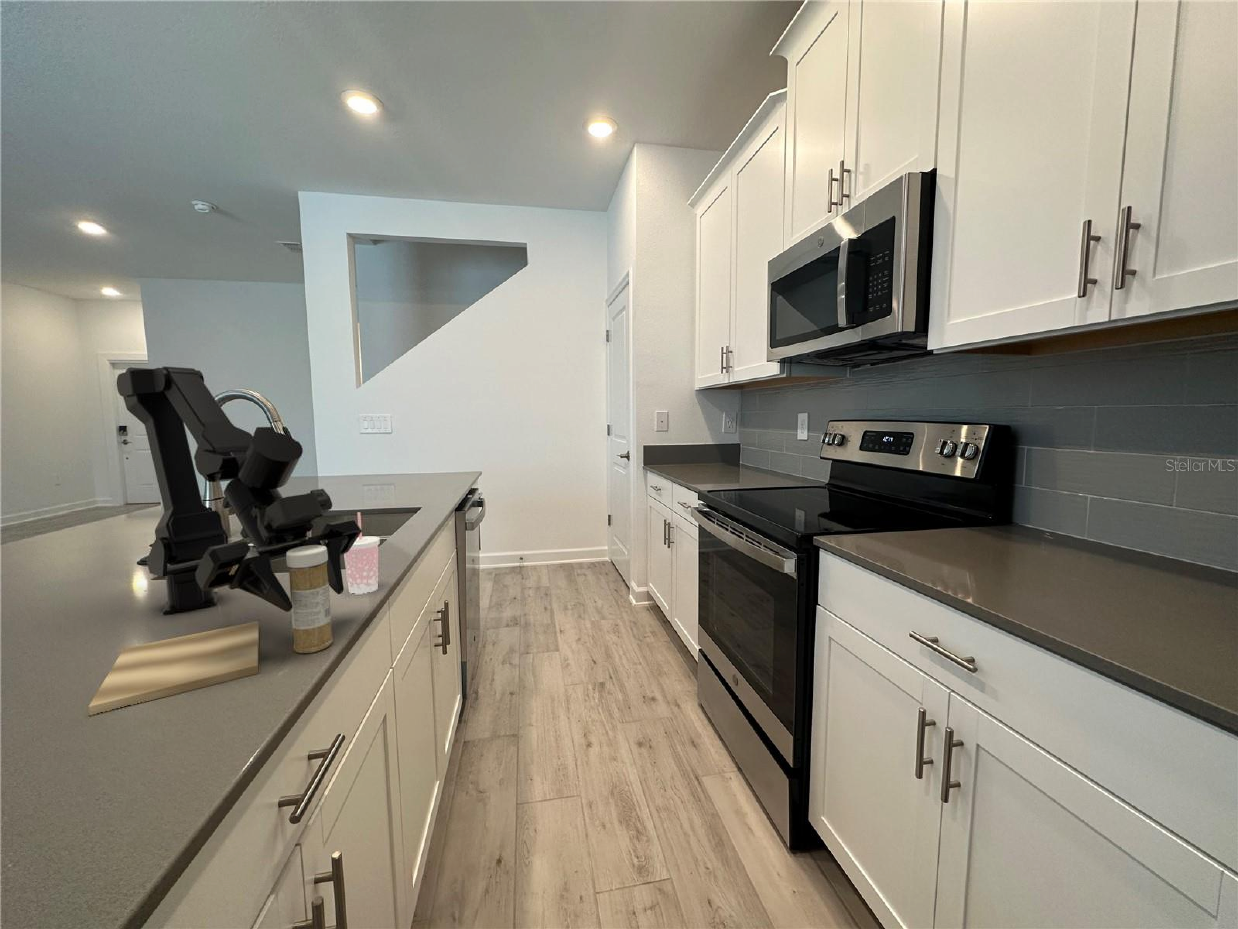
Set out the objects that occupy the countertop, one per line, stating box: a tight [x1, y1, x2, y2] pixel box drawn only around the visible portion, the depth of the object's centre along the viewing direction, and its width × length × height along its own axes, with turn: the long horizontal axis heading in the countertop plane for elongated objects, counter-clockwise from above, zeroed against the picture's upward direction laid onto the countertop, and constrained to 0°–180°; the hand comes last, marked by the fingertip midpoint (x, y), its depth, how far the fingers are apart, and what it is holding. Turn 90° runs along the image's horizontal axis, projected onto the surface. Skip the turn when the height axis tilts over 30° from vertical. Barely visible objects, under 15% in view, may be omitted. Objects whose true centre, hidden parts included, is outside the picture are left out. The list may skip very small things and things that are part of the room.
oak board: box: [88, 620, 260, 716], centre depth 61 cm, size 16×14×1 cm
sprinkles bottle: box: [285, 545, 334, 654], centre depth 65 cm, size 5×5×14 cm
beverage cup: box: [343, 511, 381, 595], centre depth 86 cm, size 6×6×14 cm
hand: (316, 600), depth 64 cm, fingers open, 6 cm apart
